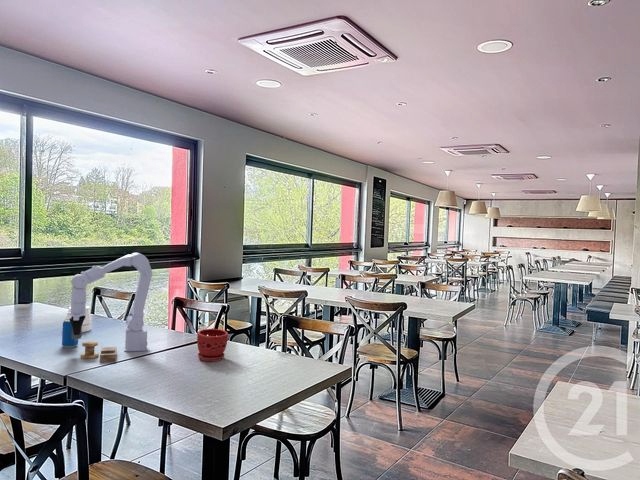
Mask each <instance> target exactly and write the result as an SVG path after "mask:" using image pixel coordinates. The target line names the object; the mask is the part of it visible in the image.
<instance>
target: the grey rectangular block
mask: <svg viewBox="0 0 640 480" xmlns="http://www.w3.org/2000/svg"><path fill="white" fill-rule="evenodd" d="M82 333H83V332H82V326H81V331H80V334H79V335H74V333H73V328H72V339H78V340H79V339H82V335H83V334H82Z"/></svg>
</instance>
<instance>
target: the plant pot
mask: <svg viewBox="0 0 640 480" xmlns="http://www.w3.org/2000/svg"><path fill="white" fill-rule="evenodd" d="M196 336H197V337H196V341H197V342H196V344H197V349H198V353H197V358H198V359H200V360H202V361H205V362H217V361H220V360H223V359H224V358H225V354H226V353H224V352H225V351H226V347H227V345H228V340H229V339H228V338H229V333H228V332H227V331H226V330H224V329H217V328H205V329H201V330H198V332H197V335H196Z"/></svg>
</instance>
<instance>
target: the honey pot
mask: <svg viewBox="0 0 640 480" xmlns="http://www.w3.org/2000/svg"><path fill="white" fill-rule="evenodd" d="M89 309H91V308H90V306H89V305H86V311H85V312H86V314H85V315H86V317H85V319H84V321H83V324H82V333H87V332H89V331H92V318H91V316H92V315H91V314H90V311H89ZM68 312H71V305H70V306H69V307H68V311H67V313H68ZM67 313H66V316H65V319H70V318H71V317H72V316H71V315H68V314H67ZM65 319H64V320H65ZM86 331H87V332H86Z"/></svg>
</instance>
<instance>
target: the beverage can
mask: <svg viewBox="0 0 640 480" xmlns="http://www.w3.org/2000/svg"><path fill="white" fill-rule="evenodd" d="M61 331H62V334H61V335H62V336H61V338H62V339H61V345H62V347H63V348H67V349H68V348H76V346H77V345H79V339H72V324H71V322H70V319H63V322H62V330H61Z"/></svg>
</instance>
